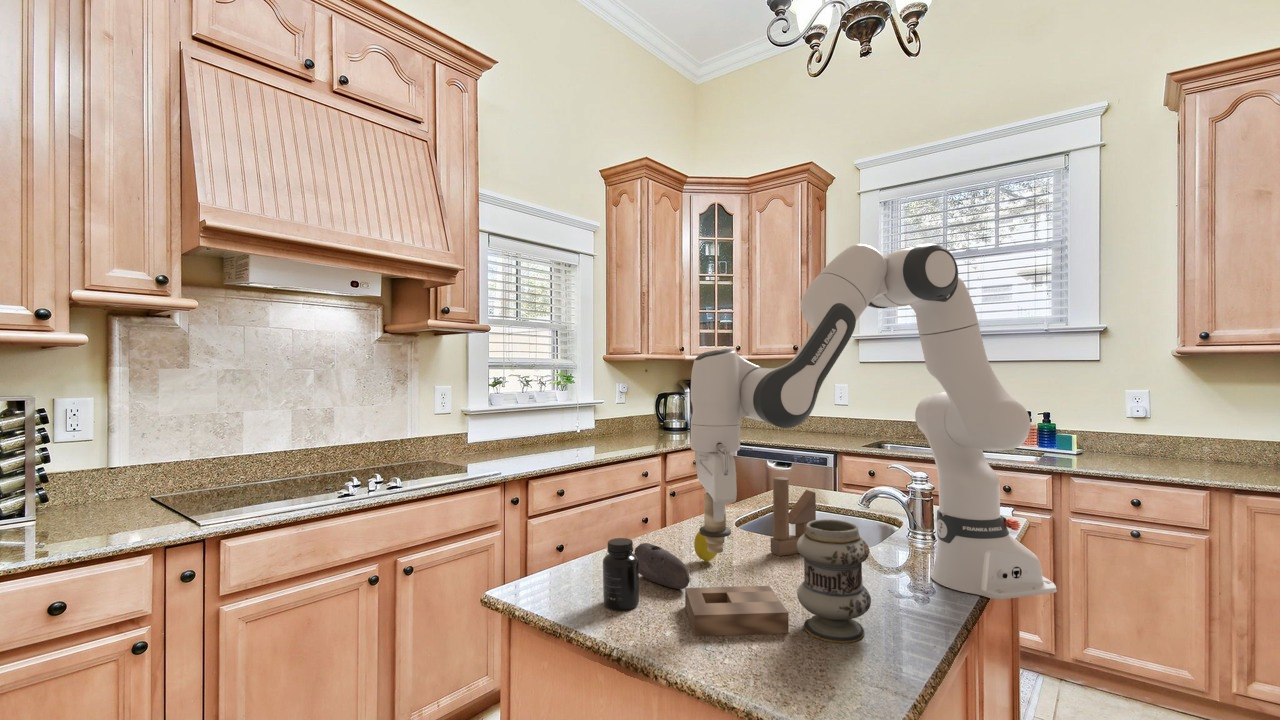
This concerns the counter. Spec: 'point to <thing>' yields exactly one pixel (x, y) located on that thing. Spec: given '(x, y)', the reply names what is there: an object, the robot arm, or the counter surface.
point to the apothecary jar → (833, 580)
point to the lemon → (702, 548)
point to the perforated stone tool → (661, 566)
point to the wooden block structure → (789, 517)
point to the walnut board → (735, 611)
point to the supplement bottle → (620, 575)
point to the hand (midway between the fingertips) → (715, 516)
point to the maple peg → (713, 527)
